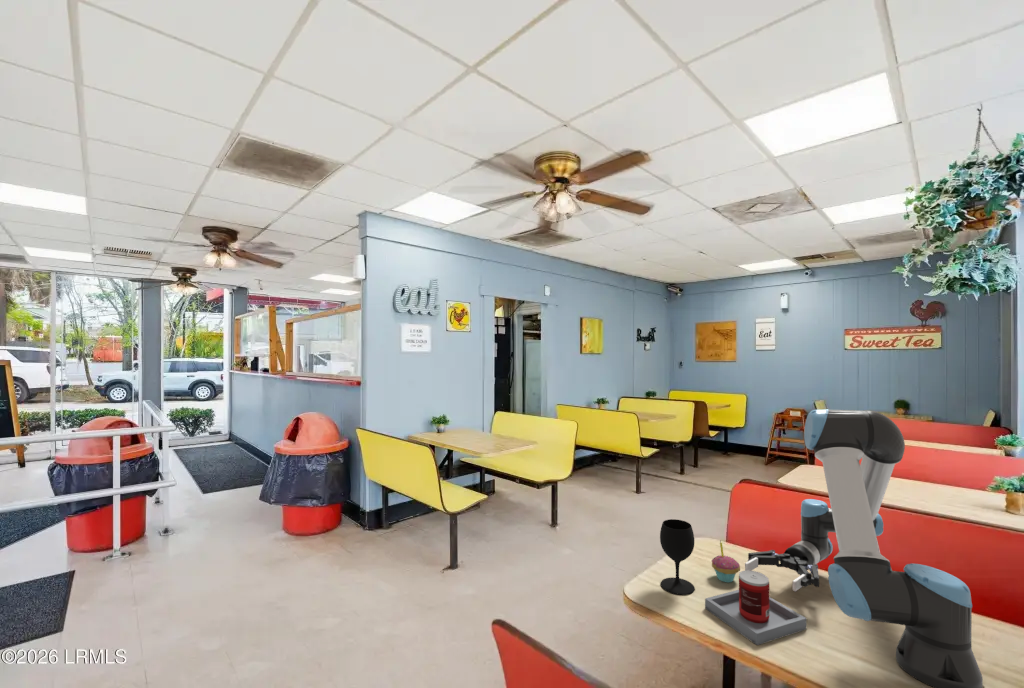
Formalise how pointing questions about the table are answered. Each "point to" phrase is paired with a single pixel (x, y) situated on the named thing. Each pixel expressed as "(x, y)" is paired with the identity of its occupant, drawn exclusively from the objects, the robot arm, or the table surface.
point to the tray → (776, 626)
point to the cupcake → (725, 567)
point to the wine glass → (677, 553)
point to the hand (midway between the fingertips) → (769, 576)
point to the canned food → (754, 596)
